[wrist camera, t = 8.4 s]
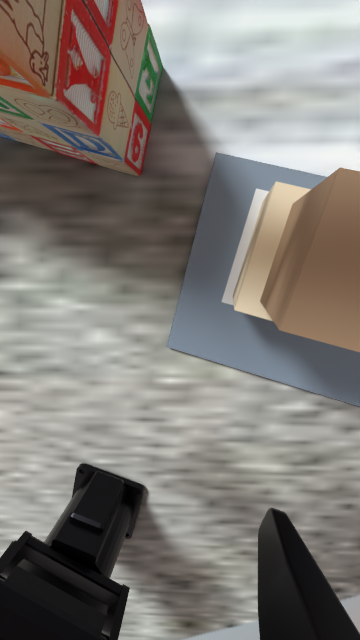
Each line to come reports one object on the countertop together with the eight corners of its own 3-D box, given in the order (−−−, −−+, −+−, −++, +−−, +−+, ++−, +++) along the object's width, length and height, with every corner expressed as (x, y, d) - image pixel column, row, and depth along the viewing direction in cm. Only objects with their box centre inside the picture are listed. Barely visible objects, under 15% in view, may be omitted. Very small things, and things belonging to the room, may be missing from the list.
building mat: (371, 407, 18) (374, 411, 17) (167, 345, 19) (166, 347, 19) (479, 213, 14) (487, 212, 14) (216, 154, 16) (216, 152, 15)
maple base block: (322, 321, 17) (356, 345, 12) (232, 296, 17) (234, 310, 13) (364, 225, 15) (420, 213, 11) (262, 201, 15) (276, 181, 11)
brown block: (354, 326, 12) (437, 373, 7) (259, 301, 13) (279, 330, 8) (399, 227, 11) (536, 206, 6) (292, 203, 11) (339, 167, 6)
